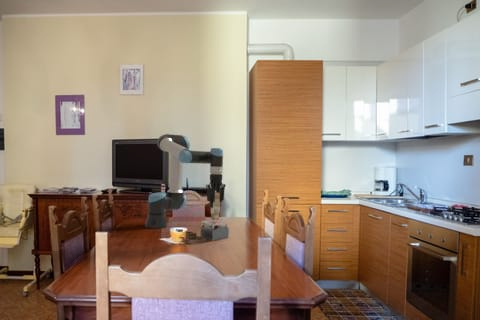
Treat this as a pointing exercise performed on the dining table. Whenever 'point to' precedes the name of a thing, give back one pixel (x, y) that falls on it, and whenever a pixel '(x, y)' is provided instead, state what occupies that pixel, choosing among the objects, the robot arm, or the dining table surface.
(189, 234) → the stand
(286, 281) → the dining table surface
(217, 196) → the stick
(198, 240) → the tray
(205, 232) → the box
